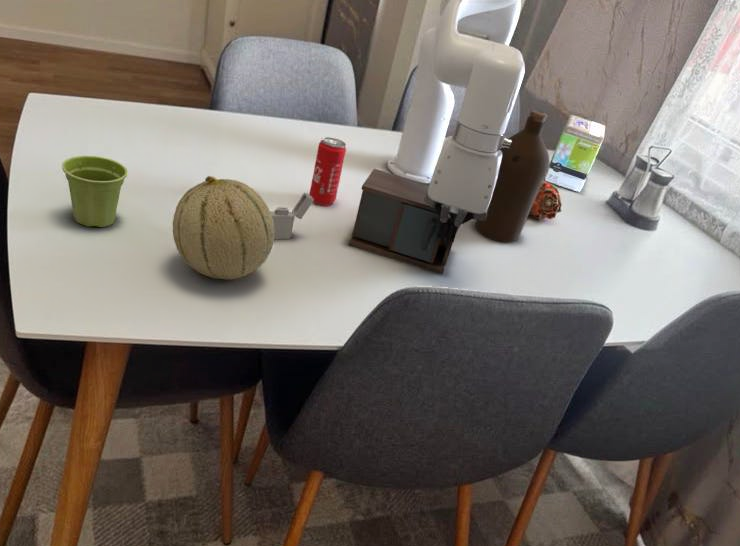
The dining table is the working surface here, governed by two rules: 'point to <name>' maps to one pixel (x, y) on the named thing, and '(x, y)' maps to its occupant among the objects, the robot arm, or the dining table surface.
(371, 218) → the cabinet
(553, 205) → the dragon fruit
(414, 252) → the tinted door with handle
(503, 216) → the olive oil
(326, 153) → the beverage can
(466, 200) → the robot arm
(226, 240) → the cantaloupe
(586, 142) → the tea box
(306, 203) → the lighter
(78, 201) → the plant pot
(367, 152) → the dining table surface
